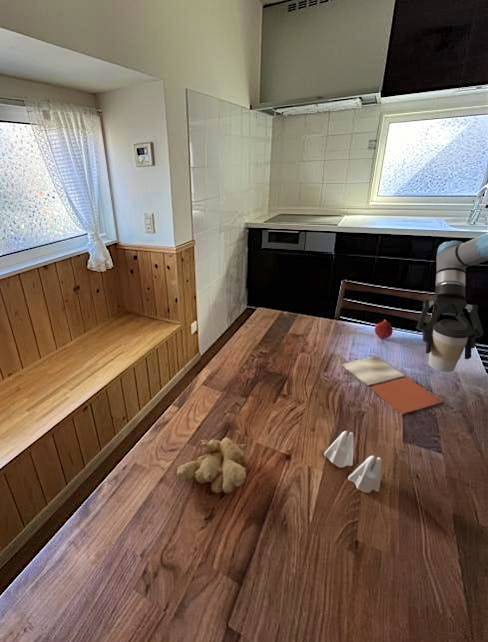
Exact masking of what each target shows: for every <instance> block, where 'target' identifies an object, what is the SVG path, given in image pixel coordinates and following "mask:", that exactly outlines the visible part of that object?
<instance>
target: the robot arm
mask: <svg viewBox="0 0 488 642" xmlns="http://www.w3.org/2000/svg"><path fill="white" fill-rule="evenodd" d="M435 257H436V273H435V291H434V300H429V299H424V301H423V303H422V311H421V314H420V316H419V319H418V322H417V324H416V327H415V329H416V330H418V331H421V332H422V342H423V343H425V354H430V352H431V342H432V333H433V330H430V329H431V328H432V327H433V326H434V325H435V323H436V321H437V320H438V319H439V318H440V316H441V315H442V316H451V317H454V318H455V319H456V320H457V321H458V322H464V323H465V324H466V325H467V328H468V329H469V330H470V336H469V337H468V339H467V343H466V346H465V348H464V360H470V359H471V358H472V349H475V348H476V345H477V344H476V339H477V338H482V337H483V336H484V335H485V333H484V329H483V326H482V322H481V319H480V316H479V311H478V309H479V305H478V304H476V303H475V304H468V303H467V302H466V272H467V270H466V269H467V268H469V267H472V266H475V265H479V264H481V263H482V264H483V263H484V262H487V261H488V232H486V233H483V234H481V235H480V236H477V237H475V238H473V239H470V240H467V241H465V242H462V241H459V240H451V241H445V242H442V243H441V244H439V246H438V248H437V252H436V256H435ZM432 306H434V307H435V309H436V310H437V311H436V312H435V313H434V315H433V316H432V317H431V319H430V320H429V321H428V323H427V324H426V325H424V323H425V321H426V318H427V315H428V313H429V310H430V308H431V307H432ZM464 309H466V310H467V312H468V313H469V318H470V322H469V320H468V318H467V317H466V314H465V312H464Z"/></svg>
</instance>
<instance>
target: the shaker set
mask: <svg viewBox="0 0 488 642" xmlns="http://www.w3.org/2000/svg"><path fill="white" fill-rule="evenodd" d="M354 437H355V436H354V433H353V432H352V431H350V432H349V433H348V431H347V430H344V431H342V432H341V433H340V435H338V436H337V438H336V439H335V440H334V441H332V443H331V444H330V446H328V448H327V449H326V450H325V451H324V453H323V455H324V457H325V458H326V459H328V460H329V461H330V462H331V464H332V465H335V466H336V467H337V468H340V469H342V468H345V467H347V466H348V467H352V466H354V452H355V449H354V448H355V447H354V446H355V438H354ZM382 467H383V465H382V458H381V457H380V456H377V458H376V459H375V455H370V456H368V457H367V458H366V459H365V460H364V461H363V462H362V463H361V464H360V465H359V466H358V467H357V468H355V470H353V471H352V472H351V473H350V474H349V475H348V477H347V480H348V481H349V482H352V483H354V485H355V487H356V489H357V490H359V491H362V493H366V494H370V493H371V492H372V491H374V492H377V491H378V492H380V487H381V478H382Z"/></svg>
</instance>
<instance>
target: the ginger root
mask: <svg viewBox="0 0 488 642" xmlns="http://www.w3.org/2000/svg"><path fill="white" fill-rule="evenodd" d="M200 444H201V445H202V446H203V447H204V451H205V452H206V453H207V454H204V455H200V456H199V457H198V458H197V460H191V461H188V462H186V463H184V464H181V465H179V466H178V467H177V470H176V476H177V479H178V480H180V481H181V482H184V483H187V482H190V481H192V480H194V479H195V481H196V482H197V483H199V484H202V485H203V484H205V483H210V488H211V492H212V493H215V494H219V493H222V492H223V493H224V494H230V493H232V492H233V491H234V490H235V488H238V487H241V486H243V485H244V484H245V483H246V480H247V474H246V470H247V469H246V468H245V467H244V466H242V465H241V464H242V463H243V462H244V461H245V456H246V453H245V452H244V450H246V449H247V448H248V445H247V444H246V443H242V444H235V442H233V441H232V440H231V438H229V437H223V439H222V440H217V439H213V438H212V439H210V440H207V439H201V440H200Z"/></svg>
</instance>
